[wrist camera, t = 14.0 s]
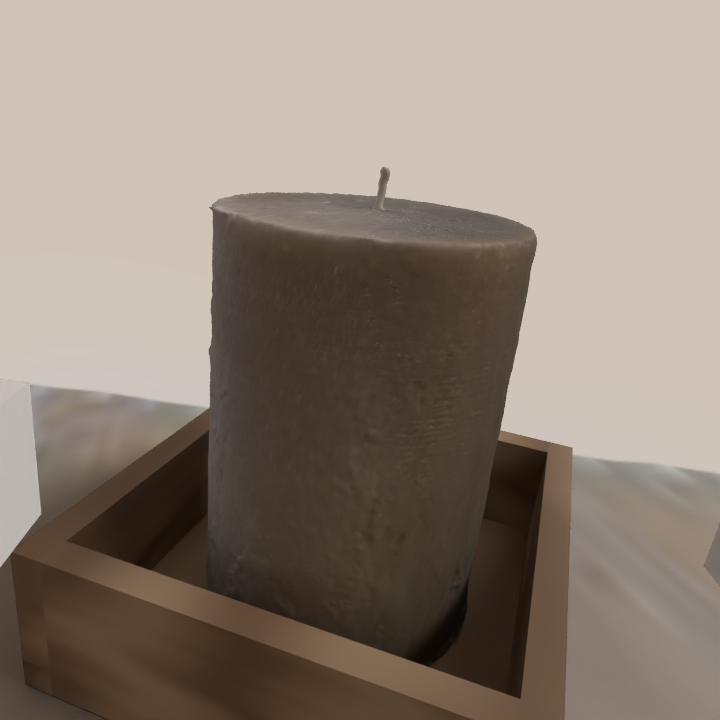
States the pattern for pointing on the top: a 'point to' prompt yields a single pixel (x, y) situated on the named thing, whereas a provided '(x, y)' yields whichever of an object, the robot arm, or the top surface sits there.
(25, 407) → the robot arm
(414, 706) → the walnut crate
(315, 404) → the pillar candle
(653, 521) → the top surface
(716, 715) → the top surface
